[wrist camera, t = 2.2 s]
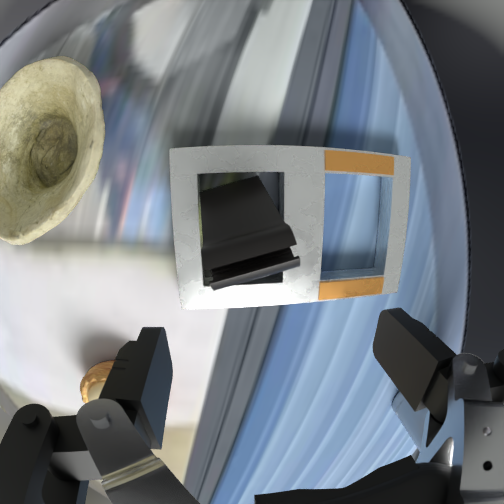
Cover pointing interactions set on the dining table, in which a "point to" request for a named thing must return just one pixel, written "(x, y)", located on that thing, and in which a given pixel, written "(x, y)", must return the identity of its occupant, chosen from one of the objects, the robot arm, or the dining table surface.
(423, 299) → the dining table surface
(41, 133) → the bowl
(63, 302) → the dining table surface
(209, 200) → the phone stand
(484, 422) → the robot arm
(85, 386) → the pastry
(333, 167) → the white slotted tray
